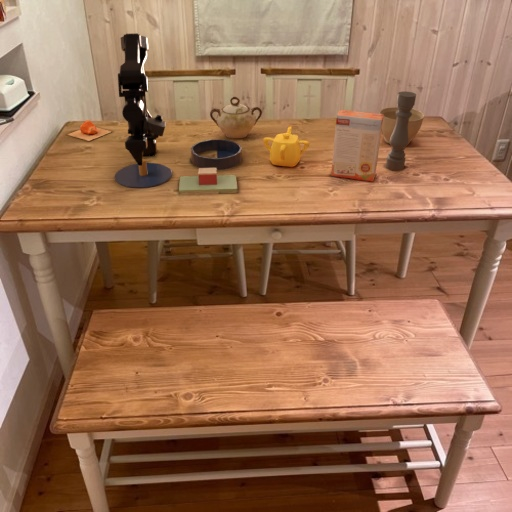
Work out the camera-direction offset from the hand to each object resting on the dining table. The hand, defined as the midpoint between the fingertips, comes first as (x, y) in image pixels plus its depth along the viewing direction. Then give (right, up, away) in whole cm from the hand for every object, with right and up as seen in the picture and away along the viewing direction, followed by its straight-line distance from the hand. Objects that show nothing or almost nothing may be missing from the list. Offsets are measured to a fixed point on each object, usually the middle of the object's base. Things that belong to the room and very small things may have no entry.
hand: (141, 159), depth 166 cm
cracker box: (+69, -5, +6) cm, 69 cm away
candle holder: (+84, -1, +12) cm, 85 cm away
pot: (+23, +2, +15) cm, 28 cm away
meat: (+22, -8, -2) cm, 23 cm away
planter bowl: (+91, +13, +32) cm, 97 cm away
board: (+22, -9, -2) cm, 23 cm away
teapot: (+47, +2, +15) cm, 49 cm away
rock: (-28, +17, +36) cm, 48 cm away
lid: (0, -5, +3) cm, 6 cm away
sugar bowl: (+29, +16, +35) cm, 49 cm away
